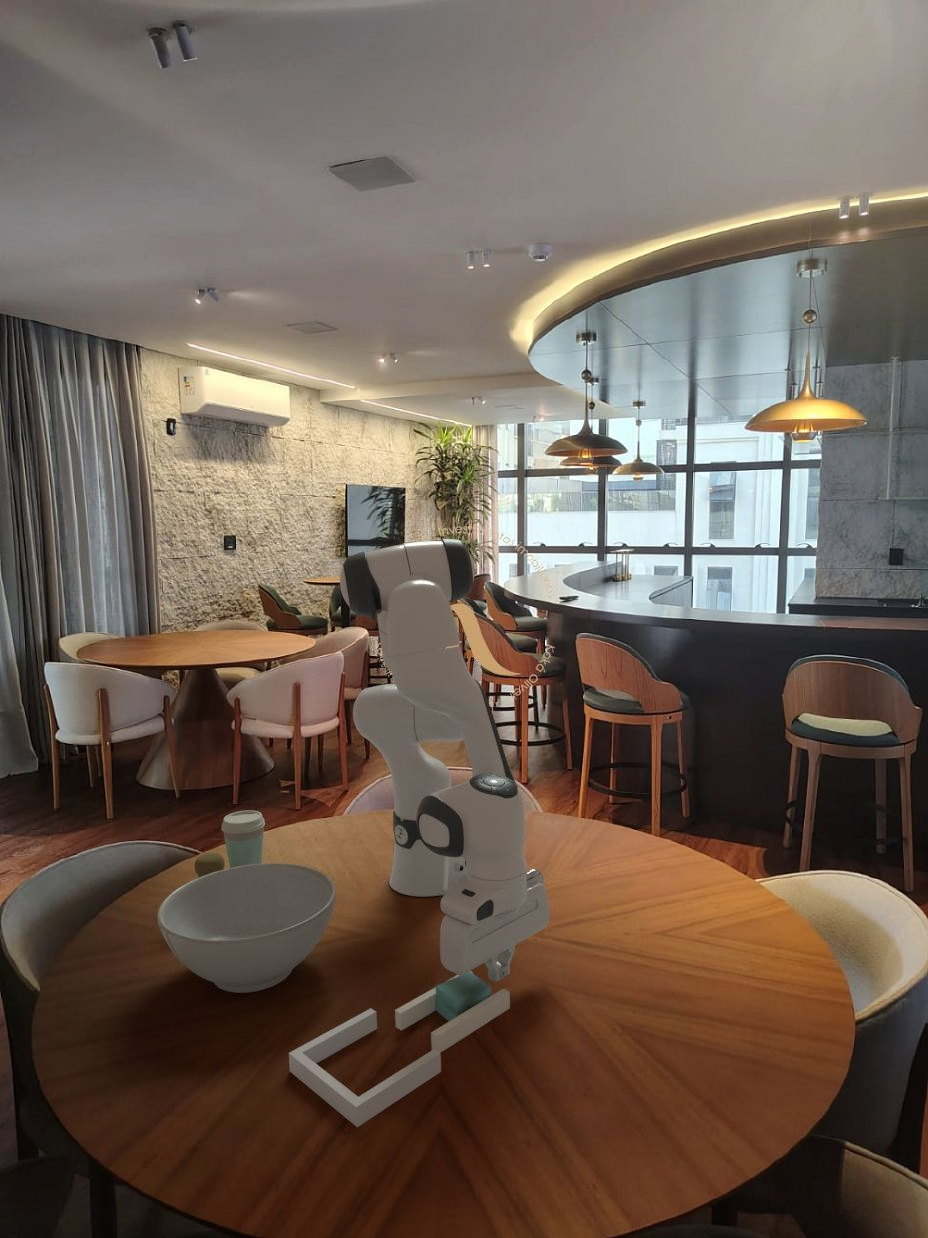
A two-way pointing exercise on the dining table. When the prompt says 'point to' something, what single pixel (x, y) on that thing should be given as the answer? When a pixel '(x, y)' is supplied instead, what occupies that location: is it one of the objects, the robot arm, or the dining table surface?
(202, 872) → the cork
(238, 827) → the coffee cup
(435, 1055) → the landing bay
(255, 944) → the decorative bowl
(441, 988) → the teal block
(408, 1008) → the chute
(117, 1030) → the dining table surface
